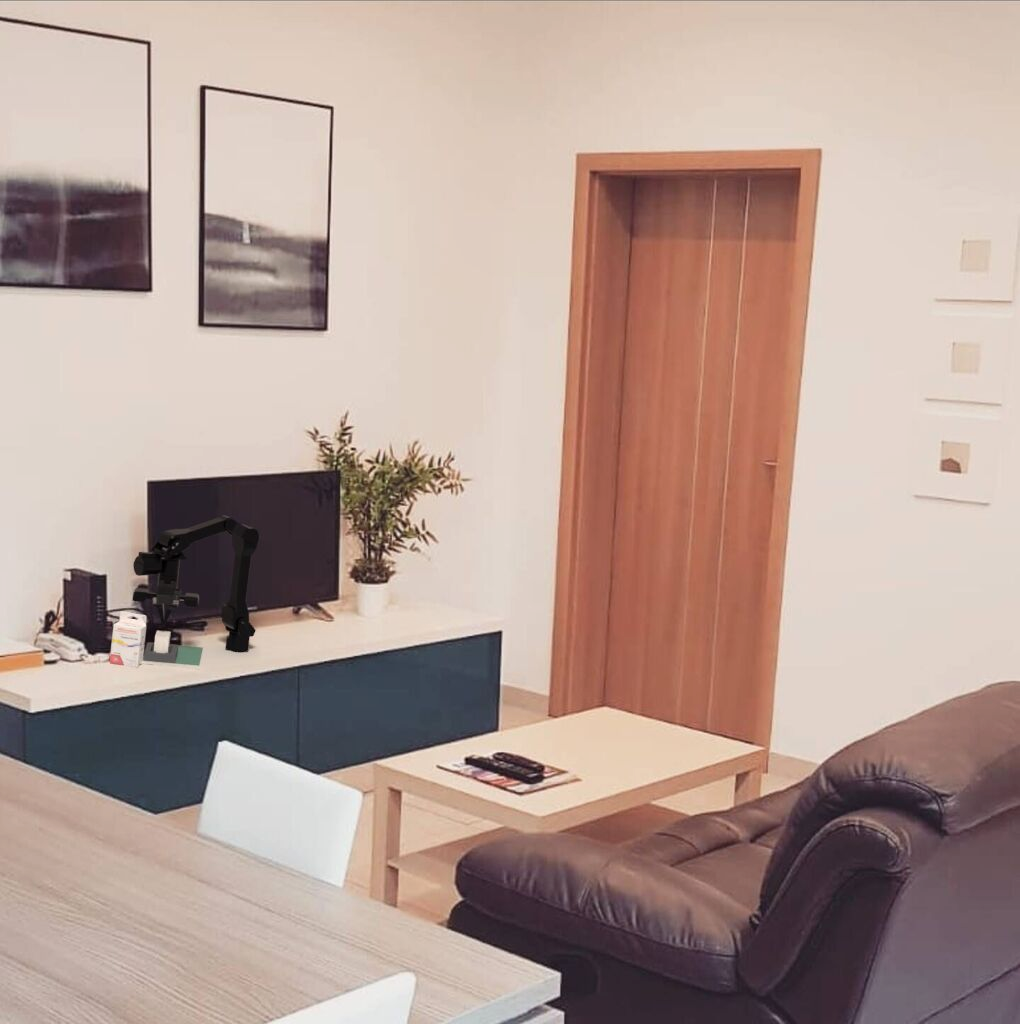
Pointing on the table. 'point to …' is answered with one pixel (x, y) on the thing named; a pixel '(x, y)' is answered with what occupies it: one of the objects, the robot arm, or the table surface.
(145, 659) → the board
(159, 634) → the plug
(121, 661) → the ink cartridge box
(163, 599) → the robot arm
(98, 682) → the table surface
